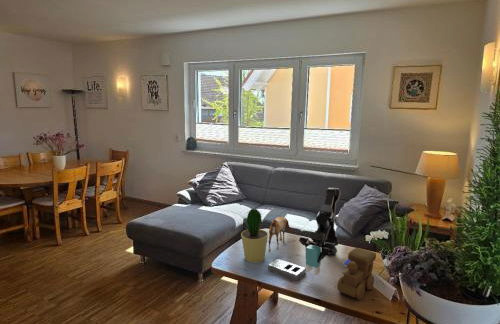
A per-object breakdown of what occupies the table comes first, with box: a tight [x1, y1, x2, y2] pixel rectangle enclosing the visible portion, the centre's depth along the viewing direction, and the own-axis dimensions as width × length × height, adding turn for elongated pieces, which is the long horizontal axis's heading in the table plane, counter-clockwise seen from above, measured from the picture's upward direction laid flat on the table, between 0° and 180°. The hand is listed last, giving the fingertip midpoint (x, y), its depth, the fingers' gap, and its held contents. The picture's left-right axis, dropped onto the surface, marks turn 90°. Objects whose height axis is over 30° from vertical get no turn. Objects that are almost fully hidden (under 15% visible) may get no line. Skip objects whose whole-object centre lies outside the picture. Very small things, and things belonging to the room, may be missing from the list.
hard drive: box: [342, 258, 350, 268], centre depth 174 cm, size 2×8×12 cm
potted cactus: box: [240, 208, 269, 263], centre depth 179 cm, size 15×15×30 cm
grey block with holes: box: [267, 258, 307, 281], centre depth 166 cm, size 9×18×3 cm, turn 52°
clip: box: [305, 245, 322, 276], centre depth 156 cm, size 4×6×13 cm, turn 52°
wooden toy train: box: [336, 247, 377, 301], centre depth 147 cm, size 20×11×17 cm, turn 137°
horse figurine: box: [268, 216, 293, 253], centre depth 197 cm, size 31×8×21 cm, turn 152°
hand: (311, 260), depth 155 cm, fingers closed on clip, 6 cm apart
